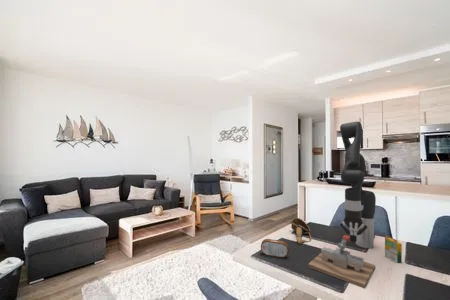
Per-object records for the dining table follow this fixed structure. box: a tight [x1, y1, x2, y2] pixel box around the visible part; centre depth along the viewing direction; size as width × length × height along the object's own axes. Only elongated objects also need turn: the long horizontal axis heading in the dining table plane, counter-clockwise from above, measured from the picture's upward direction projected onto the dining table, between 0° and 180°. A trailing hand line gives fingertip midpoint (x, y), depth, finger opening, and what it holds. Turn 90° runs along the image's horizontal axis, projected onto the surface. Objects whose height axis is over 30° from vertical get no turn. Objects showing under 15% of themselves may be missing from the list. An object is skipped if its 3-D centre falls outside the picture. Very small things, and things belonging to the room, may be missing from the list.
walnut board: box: [307, 252, 376, 289], centre depth 109 cm, size 22×24×2 cm
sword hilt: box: [289, 217, 312, 245], centre depth 146 cm, size 10×24×15 cm
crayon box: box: [384, 235, 403, 264], centre depth 117 cm, size 7×3×12 cm, turn 11°
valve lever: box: [337, 234, 351, 252], centre depth 113 cm, size 15×3×4 cm, turn 141°
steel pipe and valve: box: [320, 246, 365, 272], centre depth 109 cm, size 6×18×6 cm, turn 47°
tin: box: [260, 238, 290, 259], centre depth 121 cm, size 15×3×8 cm, turn 71°
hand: (353, 242), depth 115 cm, fingers closed
